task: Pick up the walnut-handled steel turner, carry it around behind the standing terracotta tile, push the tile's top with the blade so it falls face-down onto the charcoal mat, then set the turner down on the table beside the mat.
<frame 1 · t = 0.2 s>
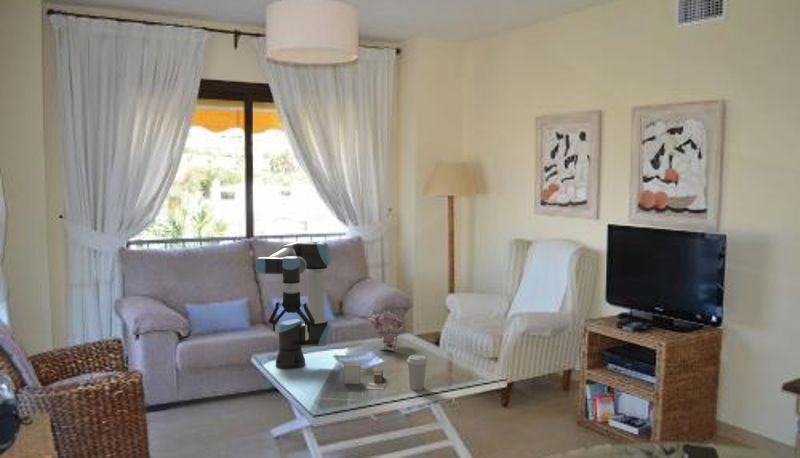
hand: (291, 338, 297), 28 cm above the table, tool pointing down, fingers open, 13 cm apart
coffee cup: (416, 388, 316), on the table
turner: (377, 385, 319), on the table
tile: (352, 383, 320), point 1 cm above the table, touching mat
flower: (387, 347, 382), on the table
mat: (350, 388, 315), on the table
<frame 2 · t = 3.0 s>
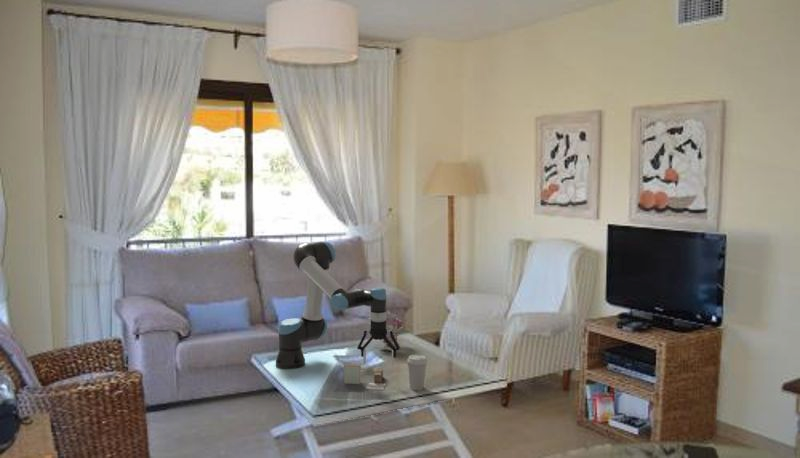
hand: (378, 363, 321), 10 cm above the table, tool pointing down, fingers open, 13 cm apart
nothing on the table moved.
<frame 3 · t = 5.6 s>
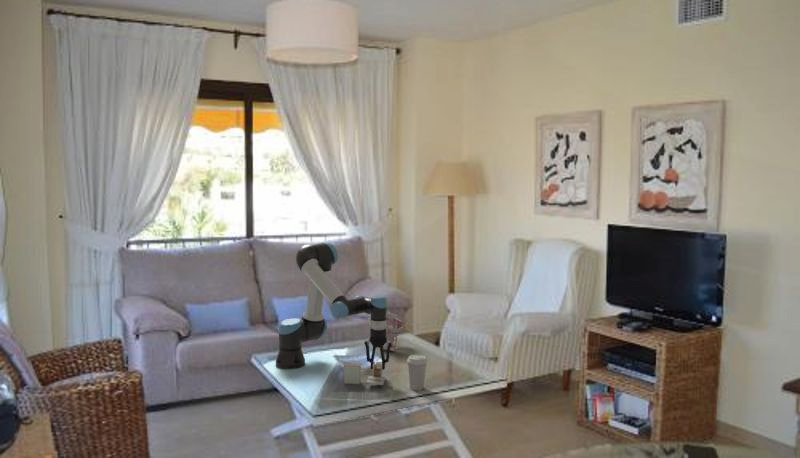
hand: (377, 375, 322), 4 cm above the table, tool pointing down, fingers closed on turner, 3 cm apart
turner: (376, 378, 319), point 3 cm above the table, touching gripper
everything else where it was.
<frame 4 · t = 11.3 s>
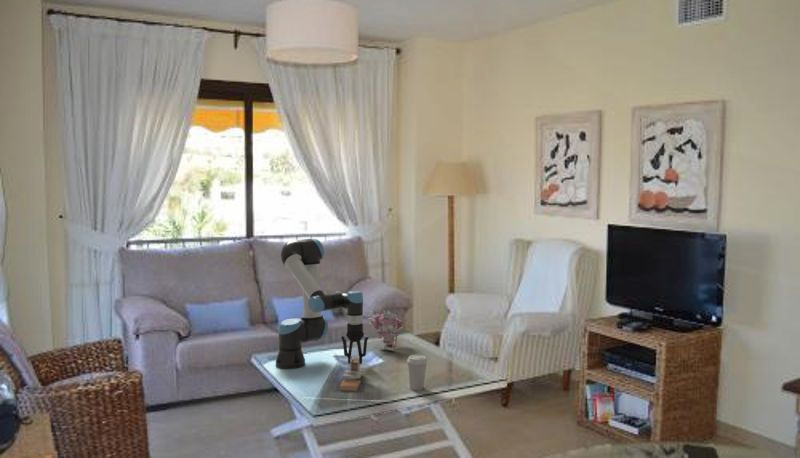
hand: (355, 369, 327), 5 cm above the table, tool pointing down, fingers closed on turner, 3 cm apart
turner: (354, 372, 324), point 4 cm above the table, touching gripper
tile: (351, 381, 319), point 2 cm above the table, tilted 90°, touching mat
everything else where it was.
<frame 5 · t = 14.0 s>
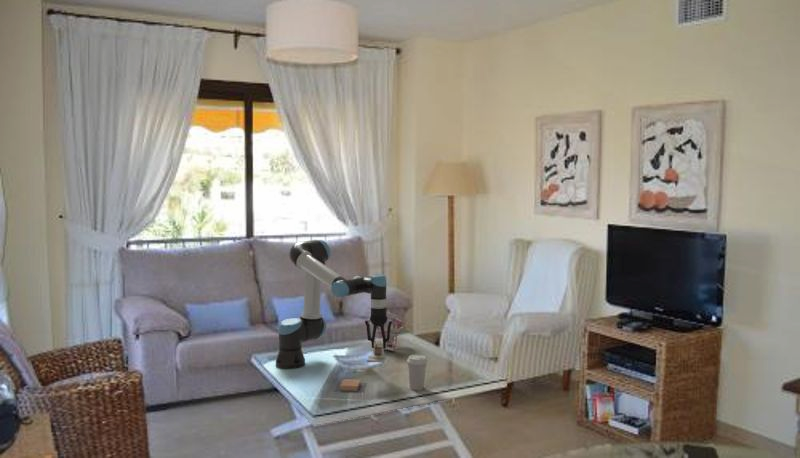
hand: (378, 354, 323), 13 cm above the table, tool pointing down, fingers closed on turner, 3 cm apart
turner: (377, 357, 320), point 13 cm above the table, touching gripper
everything else where it was.
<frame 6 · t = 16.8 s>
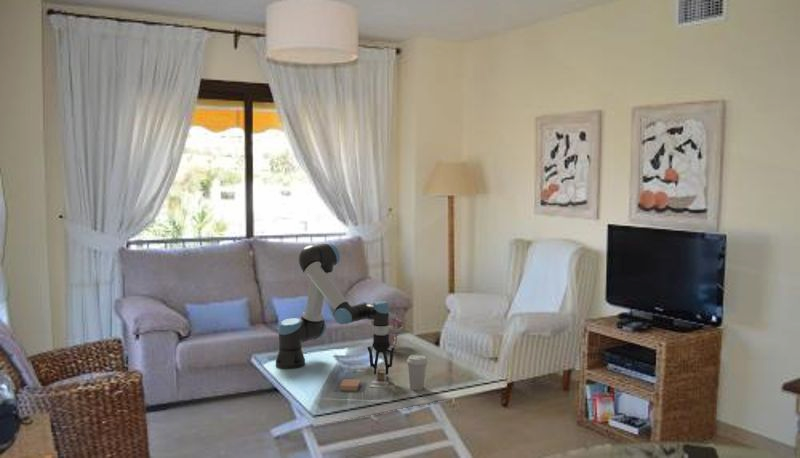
hand: (381, 380, 325), 0 cm above the table, tool pointing down, fingers closed on turner, 3 cm apart
turner: (380, 383, 322), on the table, touching gripper
everything else where it was.
when the fingers open (0 cm above the table, at t = 17.0 s): turner stays where it is, on the table.
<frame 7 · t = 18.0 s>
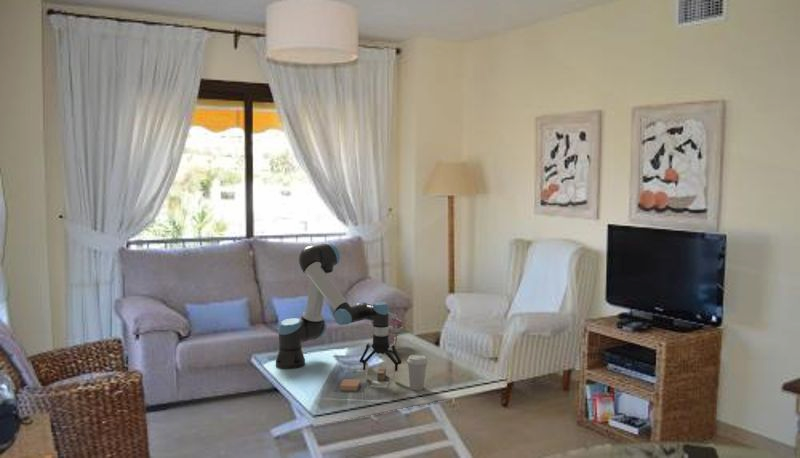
hand: (380, 377, 325), 2 cm above the table, tool pointing down, fingers open, 13 cm apart
turner: (380, 383, 322), on the table
everything else where it was.
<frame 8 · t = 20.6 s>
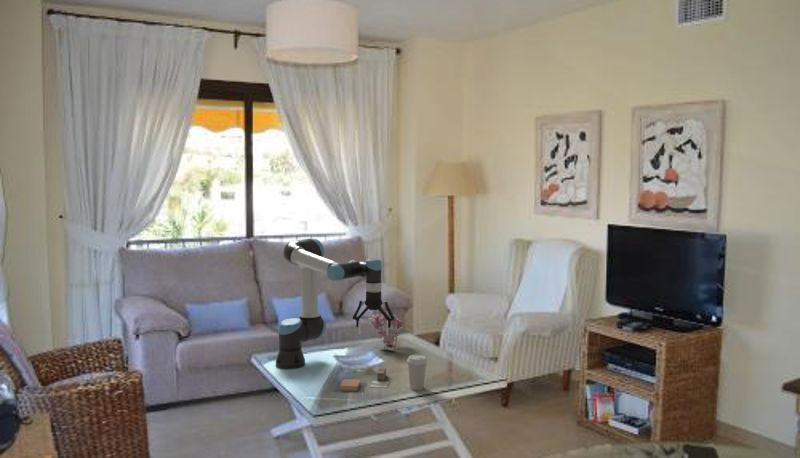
hand: (373, 334, 325), 23 cm above the table, tool pointing down, fingers open, 13 cm apart
nothing on the table moved.
at the end: tile tilted 90°; tile touching mat; turner inside the target area (0.3 cm from its centre), on the table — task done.
